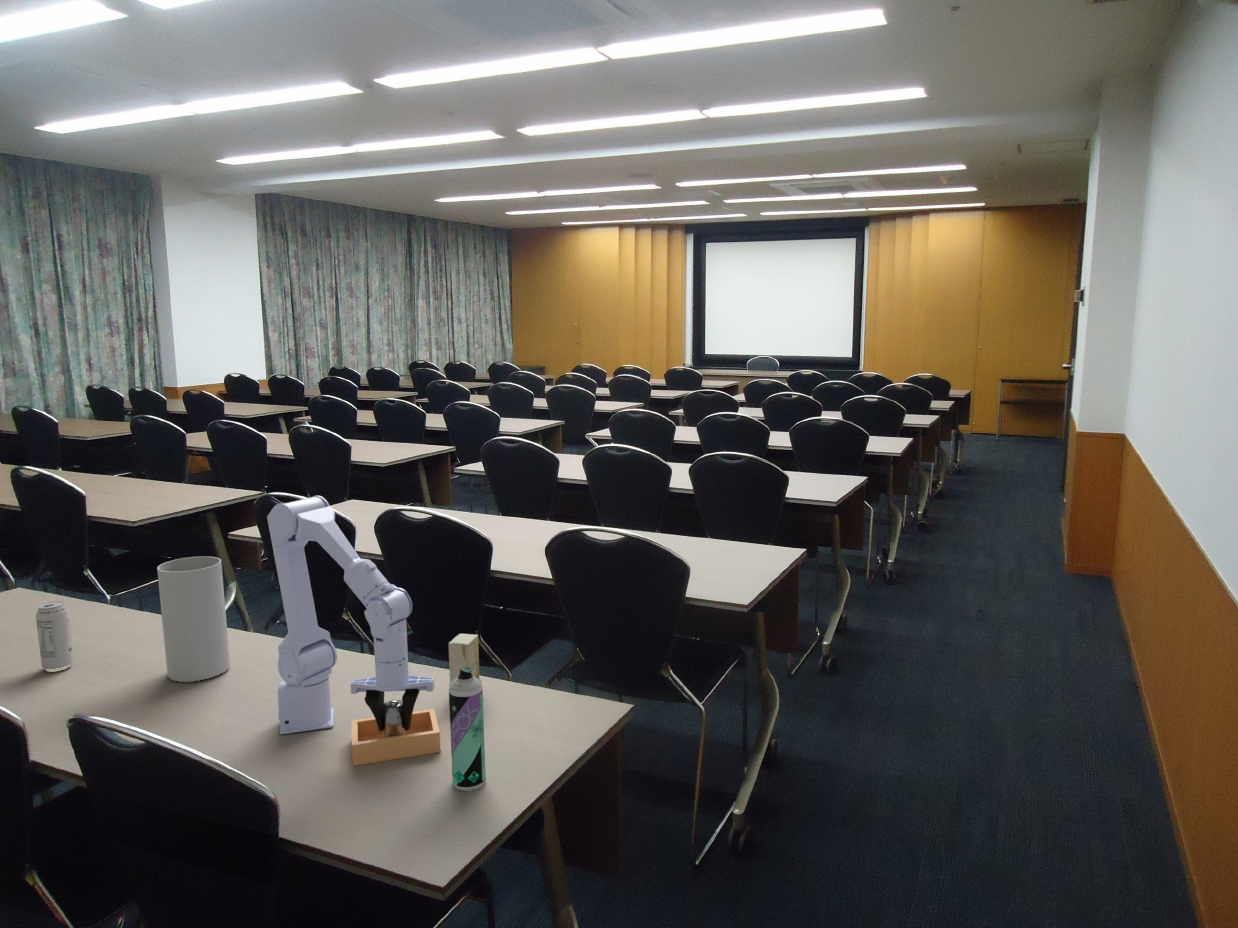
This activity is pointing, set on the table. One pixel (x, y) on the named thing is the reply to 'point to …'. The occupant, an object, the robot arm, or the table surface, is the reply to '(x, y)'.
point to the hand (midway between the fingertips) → (395, 728)
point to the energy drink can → (54, 635)
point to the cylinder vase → (193, 618)
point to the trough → (395, 739)
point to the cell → (393, 718)
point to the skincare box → (463, 655)
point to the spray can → (467, 731)
